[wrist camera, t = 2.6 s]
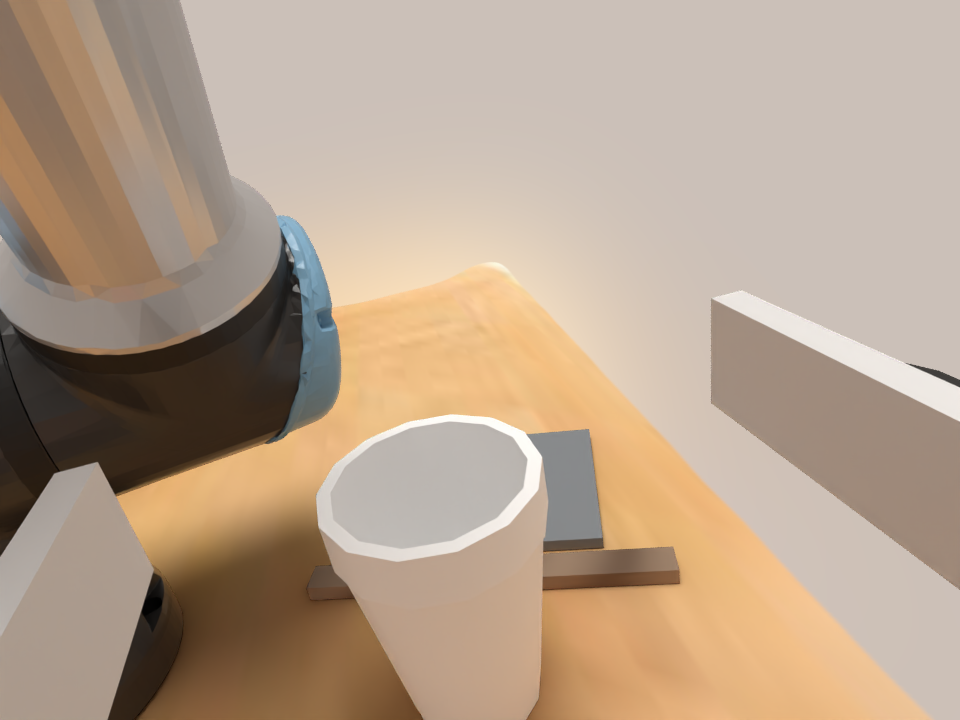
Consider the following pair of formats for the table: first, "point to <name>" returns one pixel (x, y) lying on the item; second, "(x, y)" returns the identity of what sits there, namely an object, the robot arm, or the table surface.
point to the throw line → (557, 571)
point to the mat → (569, 490)
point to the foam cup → (446, 559)
